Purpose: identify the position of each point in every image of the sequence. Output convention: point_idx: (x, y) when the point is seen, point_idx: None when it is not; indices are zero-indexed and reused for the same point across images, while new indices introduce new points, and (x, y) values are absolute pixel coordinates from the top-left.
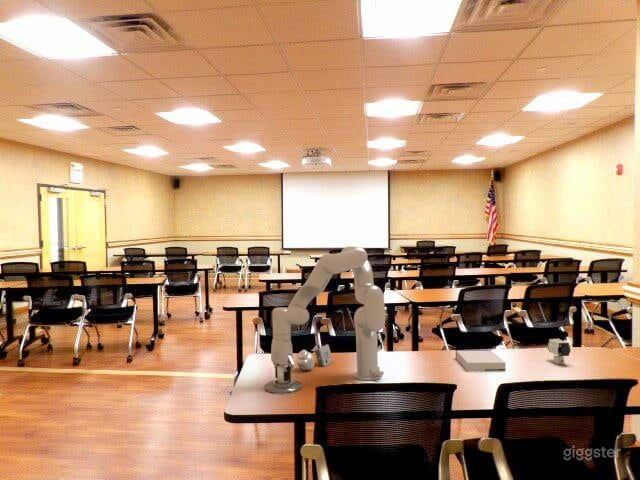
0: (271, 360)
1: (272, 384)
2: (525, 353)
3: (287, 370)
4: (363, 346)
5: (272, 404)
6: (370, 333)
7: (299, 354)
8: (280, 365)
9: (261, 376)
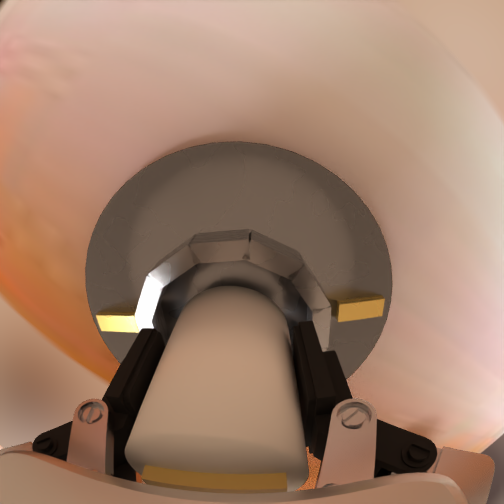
0: (438, 484)
1: (318, 261)
2: None
3: (83, 421)
4: None
5: (13, 83)
6: None
7: None
8: (259, 476)
9: (501, 302)
